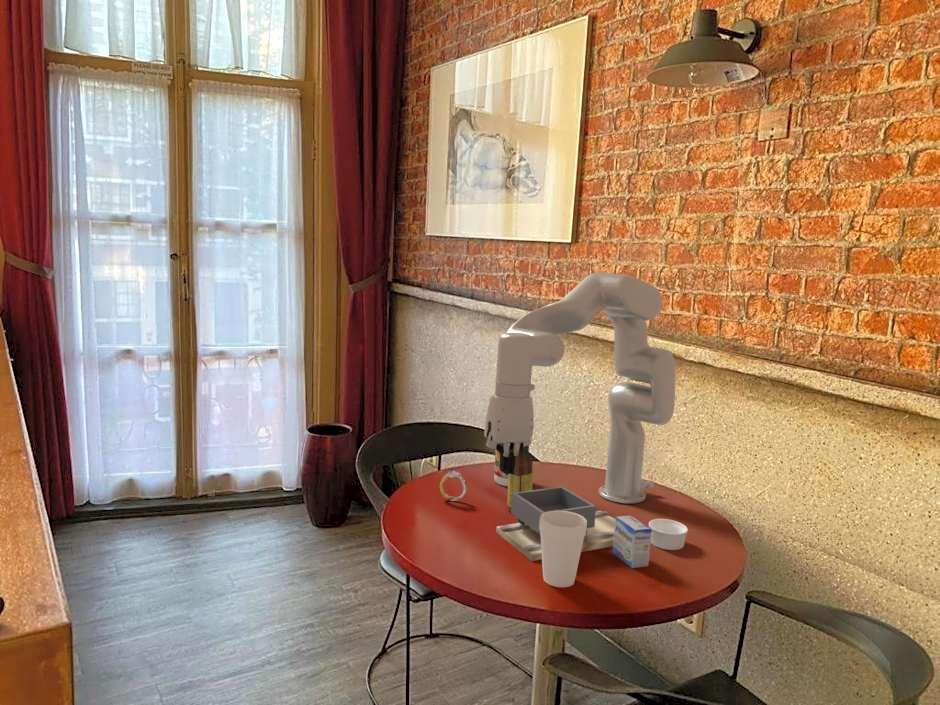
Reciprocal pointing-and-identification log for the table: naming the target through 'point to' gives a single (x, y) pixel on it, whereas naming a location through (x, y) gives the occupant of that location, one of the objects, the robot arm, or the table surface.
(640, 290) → the robot arm
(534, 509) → the grey storage bin
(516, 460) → the sauce bottle
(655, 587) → the table surface
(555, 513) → the foam cup
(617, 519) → the medicine box
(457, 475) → the bracelet
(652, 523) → the ramekin
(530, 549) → the track board
